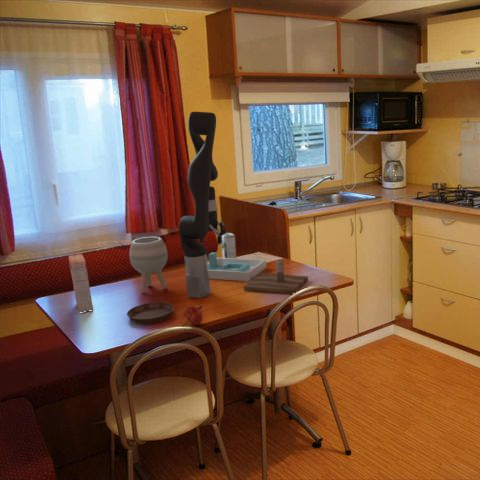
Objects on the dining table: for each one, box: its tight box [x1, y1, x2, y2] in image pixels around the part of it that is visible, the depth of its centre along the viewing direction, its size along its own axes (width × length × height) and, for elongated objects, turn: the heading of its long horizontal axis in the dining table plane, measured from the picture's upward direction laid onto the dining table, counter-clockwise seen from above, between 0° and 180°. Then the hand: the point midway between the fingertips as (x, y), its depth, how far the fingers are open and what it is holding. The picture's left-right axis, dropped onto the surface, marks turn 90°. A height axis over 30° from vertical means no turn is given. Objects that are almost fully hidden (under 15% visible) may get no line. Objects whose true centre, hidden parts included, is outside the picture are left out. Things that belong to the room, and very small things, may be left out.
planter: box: [128, 236, 168, 295], centre depth 235 cm, size 16×16×22 cm
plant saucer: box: [126, 301, 175, 325], centre depth 205 cm, size 18×18×3 cm
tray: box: [208, 257, 267, 282], centre depth 252 cm, size 20×26×4 cm
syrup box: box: [221, 232, 237, 259], centre depth 269 cm, size 6×6×14 cm
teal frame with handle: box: [208, 251, 250, 272], centre depth 252 cm, size 12×17×8 cm
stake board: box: [243, 259, 309, 295], centre depth 228 cm, size 18×22×11 cm
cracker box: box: [68, 253, 94, 313], centre depth 219 cm, size 14×6×21 cm, turn 21°
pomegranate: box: [182, 305, 204, 327], centre depth 194 cm, size 7×7×10 cm
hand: (211, 243), depth 253 cm, fingers open, 8 cm apart
